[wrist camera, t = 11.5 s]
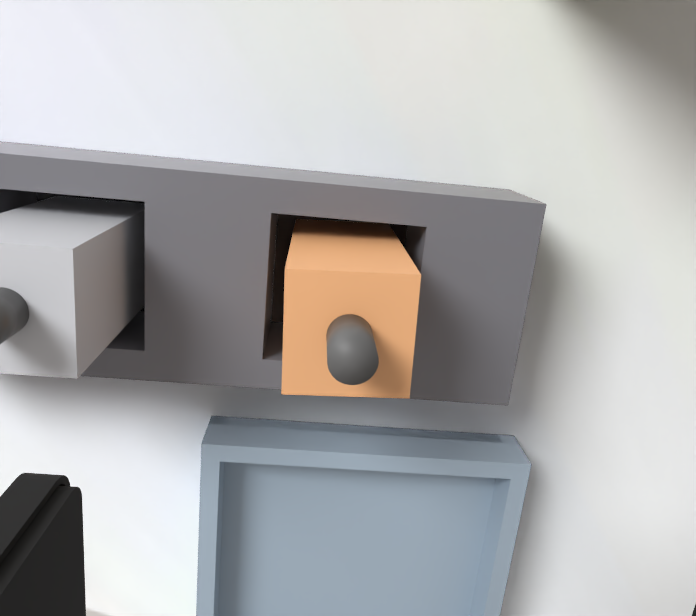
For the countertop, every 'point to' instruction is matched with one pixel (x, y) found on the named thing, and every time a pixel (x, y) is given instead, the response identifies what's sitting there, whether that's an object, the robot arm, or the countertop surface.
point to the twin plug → (67, 282)
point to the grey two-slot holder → (259, 261)
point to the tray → (355, 519)
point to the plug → (348, 311)
